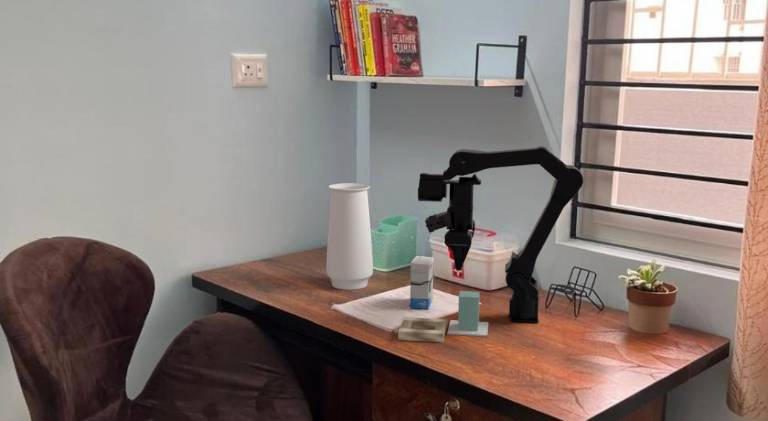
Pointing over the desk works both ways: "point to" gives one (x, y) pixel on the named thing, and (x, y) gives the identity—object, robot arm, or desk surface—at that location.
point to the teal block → (468, 311)
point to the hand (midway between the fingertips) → (459, 265)
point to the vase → (349, 237)
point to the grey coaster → (454, 330)
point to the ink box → (421, 282)
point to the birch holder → (415, 326)
